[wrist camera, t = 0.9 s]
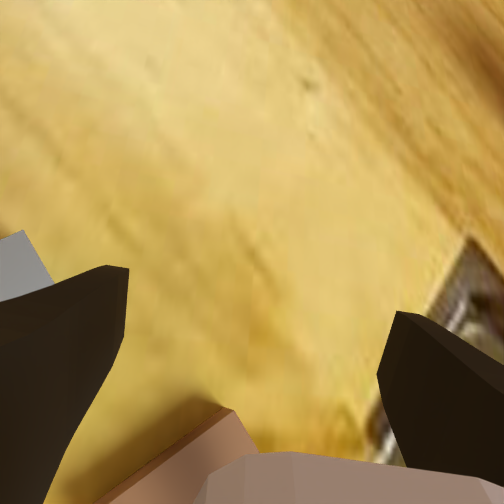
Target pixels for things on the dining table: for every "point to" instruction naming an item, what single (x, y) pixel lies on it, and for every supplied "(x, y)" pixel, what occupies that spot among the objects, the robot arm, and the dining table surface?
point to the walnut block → (186, 464)
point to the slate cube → (20, 267)
